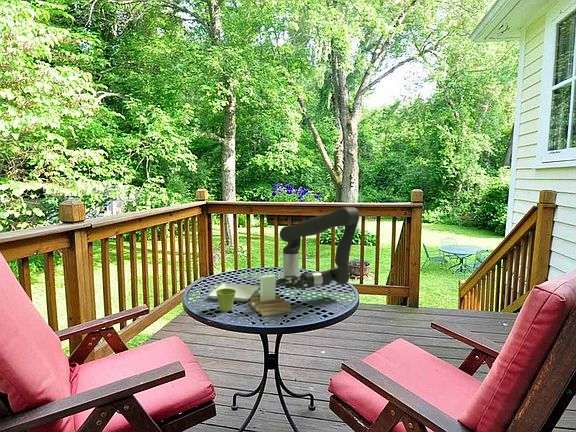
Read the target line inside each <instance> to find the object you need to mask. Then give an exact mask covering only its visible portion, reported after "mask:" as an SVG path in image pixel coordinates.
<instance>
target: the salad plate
mask: <svg viewBox="0 0 576 432" xmlns="http://www.w3.org/2000/svg"><path fill="white" fill-rule="evenodd" d="M224 288H230V289H234V290H236V293H235V296H234V302H248V301H249V300H251V295H255V293H256V292H257V291H258V290H259V289H260V285H254V284H245V283H243V284H241V283H227V282H223V283H221V284H220V285H219V286H217V288H216V289H214V290H213V291H212V292H210V293H209V294H208V297H209V298H211V299H213V300H218V296H217V294H216V291H217V290H219V289H224Z"/></svg>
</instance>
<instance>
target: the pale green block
mask: <svg viewBox="0 0 576 432" xmlns="http://www.w3.org/2000/svg"><path fill="white" fill-rule="evenodd" d="M276 278H277V277H276V275H274V274H268V275H260V277H259V282H260V285H259V286H260V287H259V289H260V292H259V294H260V302H261V301H268V300H275V292H276V285H277V283H276Z"/></svg>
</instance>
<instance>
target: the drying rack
mask: <svg viewBox="0 0 576 432" xmlns="http://www.w3.org/2000/svg"><path fill="white" fill-rule="evenodd" d="M281 296H282V295H280V294H277V291H275V300H268V301H261V302H260V293H257V294H253V295H251V297H250V301H249V305H250V306H251V307H252V308H253V309H254V310H256V312H258V313H259V314H260V315H261V316H262V317H267V316H273V315H279V314H284V313H290V312H292V308H291V301H286V298H285V297H282V298H281Z"/></svg>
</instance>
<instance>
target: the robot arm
mask: <svg viewBox="0 0 576 432" xmlns="http://www.w3.org/2000/svg"><path fill="white" fill-rule="evenodd" d="M359 221H360V212H359V210H358V209H357V208H355V206H353V207H352V206H348V207H347V206H346V207H345V206H344V207H340V208H338V209H335V210H334V211H331V212H329V213H327V214H322V215H318V216H315V217H310V218H309V219H306V220H303V221H301V222H299V223H296V224H293V225H285V226H283V227H282V228H281V229H280V231H279V238H280V240H282V241H283V242H285V243H287V245H285V246H284V247H283V249H282V278H278V279H277V283H278V284H284V288H285V289H296V290H300V289H311V288H318V287H322V286H327V285H330V284H331V283H332V282H335V283H336V284H338V285H340V286H344V285H346V284H347V283H348V282H349V279H350V266H349V260H350V254H351V249H352V245H353V244H352V243H353V240H354V236H355V233H356V230H357V227H358V224H359ZM337 227H344V229H343V233H342V236H341V238H340V240H339V242H338V243H337V247H336V249H335V257H334V263H335V265H336V266H337V267H331V268H329V269H327V270H322V271H312V272H311V271H309V272H302V273H301V274H300V273H299V270H300V269H299V268H300V267H299V265H300V264H299V263H300V260H299V259H300V255H299V254H300V249H301V243H302V242H301V241H302V239H301V238H302V237H311V236H316V235H320V234H322V233H325V232H327V231H328V230H329V229H331V228H332V229H333V228H337ZM299 274H300V275H299Z"/></svg>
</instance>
